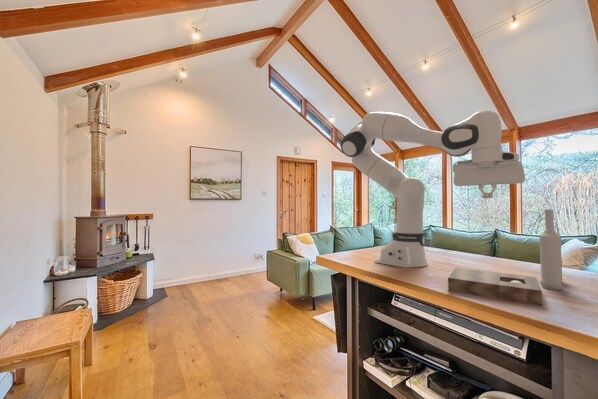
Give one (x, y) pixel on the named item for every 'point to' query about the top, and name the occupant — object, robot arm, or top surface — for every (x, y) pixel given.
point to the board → (496, 285)
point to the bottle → (550, 254)
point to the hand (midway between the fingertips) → (487, 198)
